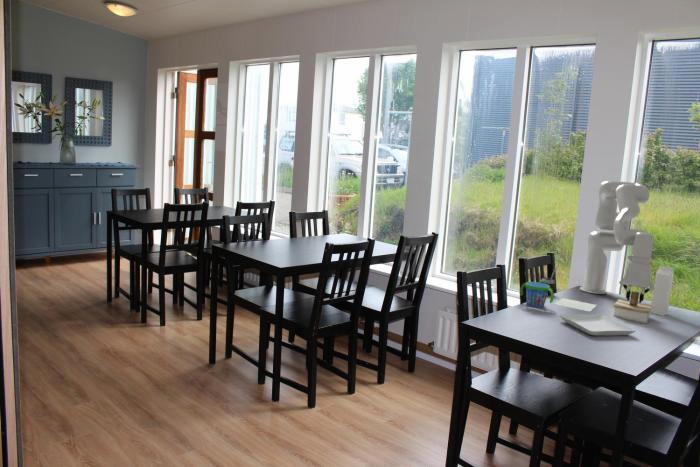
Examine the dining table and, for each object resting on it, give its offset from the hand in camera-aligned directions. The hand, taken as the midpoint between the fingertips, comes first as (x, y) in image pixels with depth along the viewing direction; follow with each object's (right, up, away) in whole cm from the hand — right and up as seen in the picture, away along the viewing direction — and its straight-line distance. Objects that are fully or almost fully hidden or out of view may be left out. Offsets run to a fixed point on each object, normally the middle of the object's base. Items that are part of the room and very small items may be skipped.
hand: (634, 300), depth 260 cm
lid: (0, -3, 0) cm, 3 cm away
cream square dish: (-1, -7, +1) cm, 8 cm away
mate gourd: (-28, -1, +31) cm, 42 cm away
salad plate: (-26, -10, -22) cm, 35 cm away
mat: (-21, -4, +14) cm, 25 cm away
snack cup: (-42, -3, +7) cm, 42 cm away
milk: (+17, -7, +12) cm, 22 cm away
